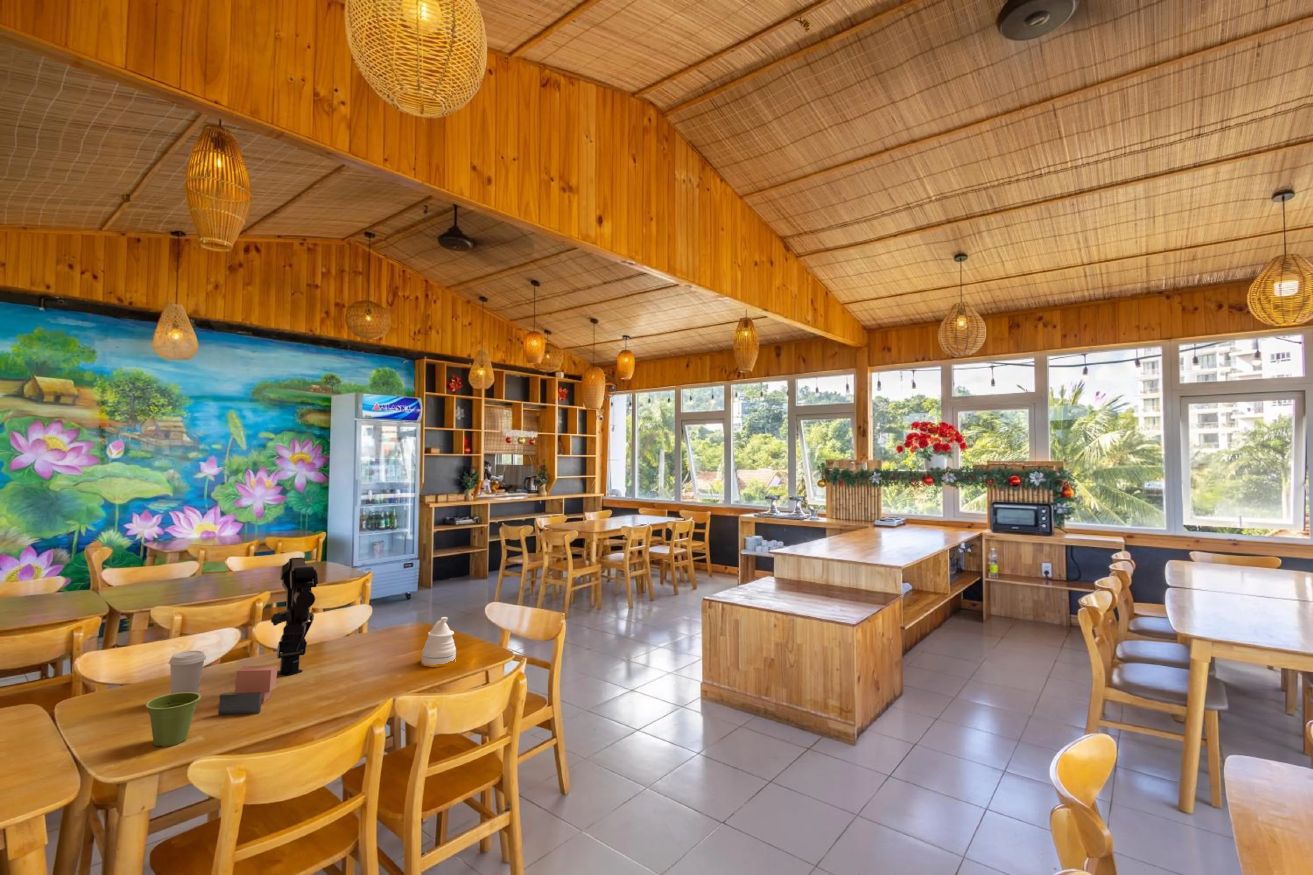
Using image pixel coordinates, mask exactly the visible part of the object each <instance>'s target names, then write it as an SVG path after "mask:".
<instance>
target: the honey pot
mask: <svg viewBox="0 0 1313 875" xmlns="http://www.w3.org/2000/svg"><path fill="white" fill-rule="evenodd" d="M448 620H449V618H448V617H447V616H442V617H441V618H440V620H439V619H438V620H437V622H435V623H434V625H433V626H432V628H431V630H430V631H428V632H427V639H426V640H425V643H424V647H423V648H422V653H421V663H422V662H423V663H424V664H429V665H436V664H445V663H448V662H450V661H453V660H454V659H455V658H457V657H456V656H457V655H456V654H457V646H455V640H454V639H453V635H455V632H454V631H453V630H451V629H450V627H449V626H448V623H447V621H448ZM455 660H456V659H455Z"/></svg>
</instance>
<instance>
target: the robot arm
mask: <svg viewBox="0 0 1313 875" xmlns="http://www.w3.org/2000/svg"><path fill="white" fill-rule="evenodd" d="M318 578H319V576H318V571H317V569H315V567H314V566H313V565H308V564H307V563H306V561H305V557H303V556H301V557H290V558H289V559H288V561H287V562H286V563H284V564H283V565H281V570H280V575H279V579H280V580H279V581H281V585H282V587H283V589H284V590H285V592H286V598H285V599H286V603H285V604H286V606H285V610H283V611H280V612H277V613H274V614H273V615H272V616H271V617H270V619H271V620H270V623H272V625H273V626H277V625H279V624H282V623H285V625H284V627H283V630H282V635H281V636H280V641H278V644H277V647H276V657H277V659H278V660H279V659H280V662H279V663H280V664H279V667H280V668H279V670H277V675H281V676H284V677H287V676H290V675H294V674H299V673H301V672H303V669H300V657H301V656H305V654H306V652H307V651H306V649H307V645H308V642H307V641H306V636H307V634H308V632H309V630H310V628H311V626H312V624H313V621H314V620H315V619H314V618H315V614H314V613H313V612H312V611H310V608H311V607H312V606H313V605H314V604H315V601H316V597H315V594H314V593H313V592H312V588H317V585H318V584H319V579H318Z"/></svg>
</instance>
